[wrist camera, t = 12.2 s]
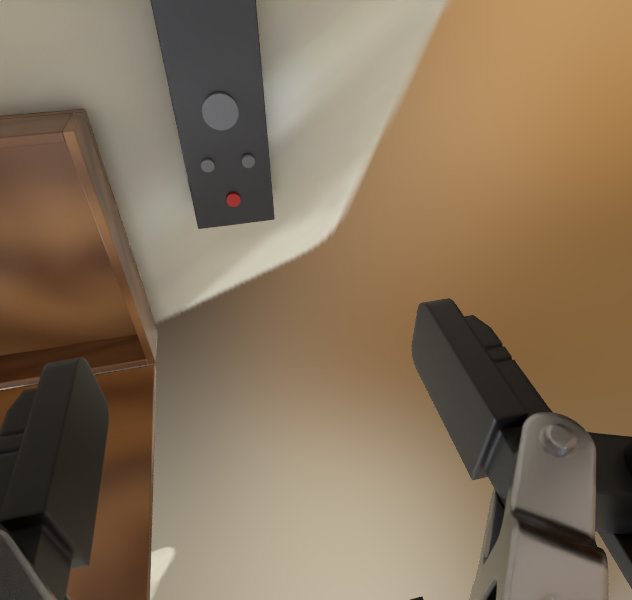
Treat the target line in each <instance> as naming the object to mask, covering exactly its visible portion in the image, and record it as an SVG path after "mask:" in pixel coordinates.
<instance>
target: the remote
mask: <svg viewBox="0 0 632 600" xmlns="http://www.w3.org/2000/svg"><path fill="white" fill-rule="evenodd" d="M151 4H152V9H153V14H154V19H155V23H156V28H157V33H158V38H159V43H160V47H161V52H162V57H163V62H164V67H165V71H166V76H167V81H168V86H169V90H170V95H171V100H172V105H173V110H174V114H175V119H176V124H177V129H178V133H179V138H180V143H181V148H182V153H183V157H184V162H185V167H186V172H187V177H188V181H189V186H190V191H191V196H192V200H193V205H194V210H195V215H196V220H197V224H198V228H199V229H202V228H210V227H218V226H226V225H234V224H242V223H250V222H258V221H266V220H274V219H275V218H274V207H273V195H272V184H271V172H270V161H269V149H268V138H267V126H266V115H265V103H264V92H263V80H262V68H261V57H260V45H259V34H258V22H257V11H256V0H151Z"/></svg>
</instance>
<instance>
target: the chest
mask: <svg viewBox="0 0 632 600" xmlns="http://www.w3.org/2000/svg"><path fill="white" fill-rule="evenodd" d="M157 335H158V332H157V328H156V325H155V322H154V319H153V316H152V313H151V310H150V307H149V304H148V301H147V298H146V295H145V292H144V289H143V286H142V283H141V280H140V277H139V274H138V270H137V267H136V264H135V261H134V258H133V255H132V252H131V249H130V246H129V243H128V240H127V237H126V234H125V231H124V228H123V225H122V222H121V219H120V216H119V213H118V209H117V206H116V203H115V200H114V197H113V194H112V191H111V188H110V185H109V182H108V179H107V176H106V173H105V170H104V167H103V164H102V161H101V158H100V155H99V152H98V148H97V145H96V142H95V139H94V136H93V133H92V130H91V127H90V124H89V121H88V118H87V115H86V112H85V110H84V109H81V110H69V111H57V112H45V113H34V114H22V115H10V116H0V389H1V388H8V387H14V386H20V385H26V384H32V383H37V382H39V380H40V376H41V373H42V370H43V367H44V365H45V364H46V363H49V362H55V361H61V360H67V359H73V358H79V357H84V358H85V359H86V360H87V362H88V364H89V366H90V368H91V370H92V372H93V373H98V372H104V371H110V370H117V369H123V368H129V367H135V366H141V365H147V364H154V363H156V351H157Z"/></svg>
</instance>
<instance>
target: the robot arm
mask: <svg viewBox="0 0 632 600" xmlns="http://www.w3.org/2000/svg"><path fill="white" fill-rule="evenodd" d="M412 356H413V361H414V364H415V367H416V369H417V371H418V373H419V375H420V377H421V379H422V381H423V383H424V385H425V387H426V389H427V391H428V393H429V395H430V397H431V399H432V401H433V403H434V405H435V407H436V409H437V411H438V413H439V415H440V417H441V419H442V421H443V423H444V425H445V427H446V429H447V431H448V433H449V435H450V437H451V439H452V441H453V443H454V445H455V447H456V449H457V451H458V453H459V454H460V457H461V459H462V461H463V463H464V464H465V467H466V468H467V471H468V473H469V475H470V477H471V479H472V480H476V479H480V478H485V477H489V479H490V481H491V483H492V485H493V486H494V490H493V492H492V497H491V502H490V508H489V513H488V519H487V523H486V529H485V535H484V539H483V545H482V550H481V555H480V561H479V566H478V570H477V574H476V578H475V581H474V584H473V587H472V591H471V594H470V598H469V600H608V562H607V557H606V554H605V552H604V550H603V549H601V548H599V547H597V545H596V542H595V531H597V532H598V533H599V535H600V536H601V538H602V540H603V541H604V543H605V545H606V547H607V548H608V550H609V552H610V553H611V555H612V557H613V558H614V560H615V562H616V563H617V565H618V567H619V568H620V570H621V572H622V573H623V575H624V577H625V578H626V580H627V582H628V583H629V585H630V587H631V588H632V437H628V436H618V435H607V434H598V433H591V432H587V431H586V430H585V429H584V428H583V427H582V426H581V425H579V424H578V423H577V422H575V421H574V420H572V419H570V418H568V417H566V416H564V415H561V414H557V413H553V412H552V411H551V410H550V408H549V407H548V406H547V405H546V403H545V402H544V400H543V399H542V398H541V396H540V395H539V394H538V392H537V391H536V389H535V388H534V387H533V385H532V384H531V383H530V381H529V380H528V378H527V377H526V376H525V374H524V373H523V372H522V370H521V369H520V367H519V366H518V365H517V363H516V362H515V360H512V358H511V355H510V354H509V352H508V351H507V350H506V348H505V347H503V346H502V343H501V341H500V340H499V338H498V337H497V336H496V334H495V333H494V332H493V330H492V329H491V328H490V327H489V326H488V325H486V324H485V323H483V322H482V321H481V320H479V319H478V318H476V317H475V316H474V315H471V316H465V317H464V316H463V315H462V313H461V311H460V310H459V308H458V307H457V305H456V304H455V303H454V301H453V300H451V299H442V300H437V301H430V302H424V303H420V304H419V307H418V310H417V316H416V322H415V328H414V334H413V340H412ZM108 427H109V411H108V405H107V401H106V398H105V396H104V394H103V392H102V390H101V388H100V386H99V384H98V382H97V380H96V378H95V376H94V374H93V372H92V370H91V368H90V366H89V364H88V362H87V360H86V359H85V358H84V357H79V358H73V359H67V360H61V361H55V362H49V363H46V364H45V365H44V367H43V370H42V373H41V376H40V380H39V384H38V387H37V388H35V389H29V390H24V391H23V392H22V393H21V394H20V396H19V397H18V398H17V399H16V401H15V402H14V403H13V404H12V406H11V407H10V408H9V409H8V411H7V412H6V415H5V418H4V421H3V424H2V427H1V430H0V600H73V599H72V598H71V596H70V595H69V593H68V592H67V586H68V580H69V574H70V570H72V569H76V568H80V567H85V566H89V565H90V558H91V550H92V543H93V536H94V529H95V521H96V514H97V507H98V499H99V492H100V485H101V478H102V470H103V463H104V456H105V448H106V441H107V434H108ZM411 600H423V597H419V598H415V599H411Z"/></svg>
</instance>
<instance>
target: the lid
mask: <svg viewBox="0 0 632 600" xmlns="http://www.w3.org/2000/svg"><path fill="white" fill-rule="evenodd" d="M94 376H95V378H96V380H97V382H98V384H99V386H100V388H101V390H102V392H103V394H104V396H105V398H106V401H107V405H108V411H109V427H108V434H107V441H106V448H105V456H104V463H103V470H102V478H101V485H100V492H99V499H98V507H97V514H96V521H95V529H94V536H93V543H92V550H91V558H90V565H89V566H85V567H80V568H76V569H72V570H70V574H69V580H68V586H67V592H68V593H69V595H70V596H71V598H72V599H73V600H150V570H151V537H152V502H153V468H154V437H155V436H154V435H155V404H156V368H155V366H154V365H151V366H145V367H139V368H133V369H127V370H121V371H114V372H108V373H102V374H96V375H94ZM37 387H38V384H36V385H30V386H24V387H18V388H12V389H5V390H0V430H1V427H2V424H3V421H4V418H5V415H6V412H7V411H8V409H9V408H10V407H11V406H12V404H13V403H14V402H15V401H16V399H17V398H18V397H19V396H20V394H21V393H22V392H23V391H24V390H29V389H35V388H37Z"/></svg>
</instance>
